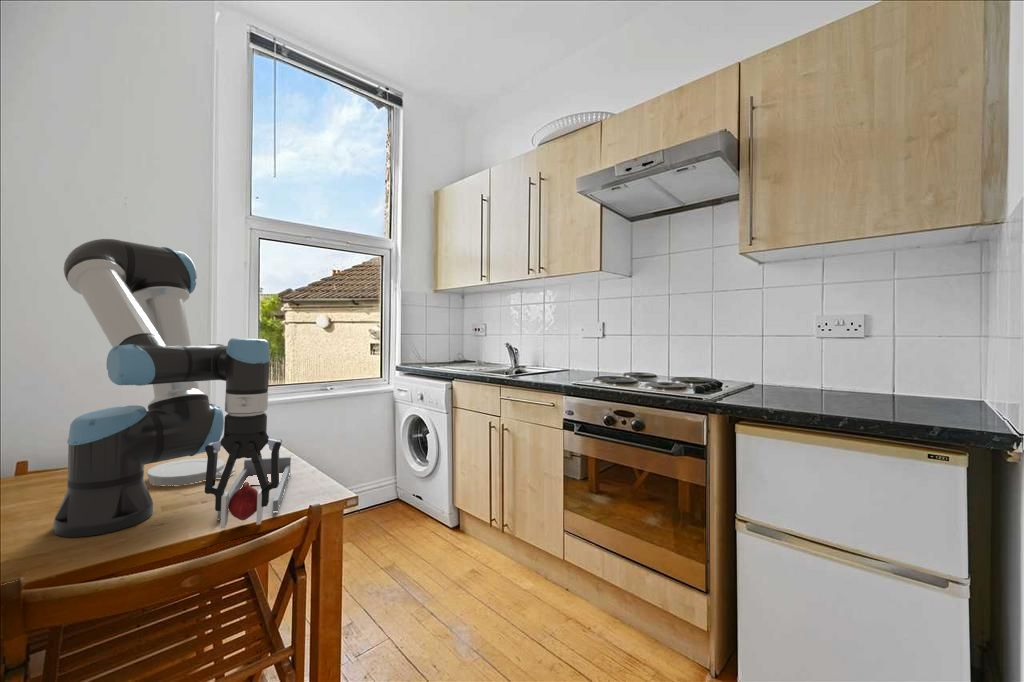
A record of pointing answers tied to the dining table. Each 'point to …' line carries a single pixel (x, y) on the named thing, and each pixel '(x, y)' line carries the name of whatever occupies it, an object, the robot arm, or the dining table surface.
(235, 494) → the onion
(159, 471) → the lid
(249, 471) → the channel
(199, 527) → the dining table surface
